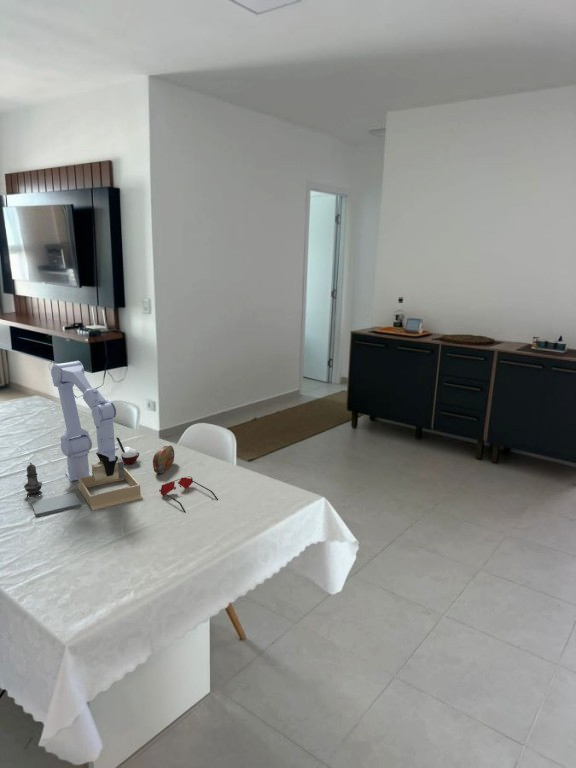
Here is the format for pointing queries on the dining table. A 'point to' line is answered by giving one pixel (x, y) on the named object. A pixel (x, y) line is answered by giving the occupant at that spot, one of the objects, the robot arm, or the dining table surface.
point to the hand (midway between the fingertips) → (108, 473)
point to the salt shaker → (32, 482)
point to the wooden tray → (110, 492)
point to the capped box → (100, 473)
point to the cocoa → (128, 454)
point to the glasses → (183, 482)
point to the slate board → (55, 504)
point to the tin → (163, 459)
